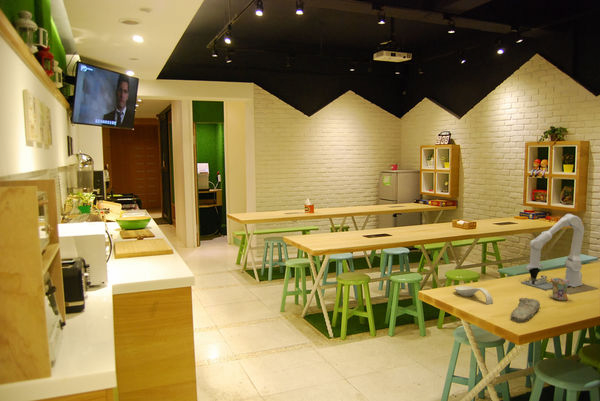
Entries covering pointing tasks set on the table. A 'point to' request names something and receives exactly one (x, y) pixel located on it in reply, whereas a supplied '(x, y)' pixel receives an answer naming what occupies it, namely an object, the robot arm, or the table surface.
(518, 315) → the elongated rock
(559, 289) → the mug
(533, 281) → the base
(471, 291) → the spoon rest
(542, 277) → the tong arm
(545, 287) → the mat
